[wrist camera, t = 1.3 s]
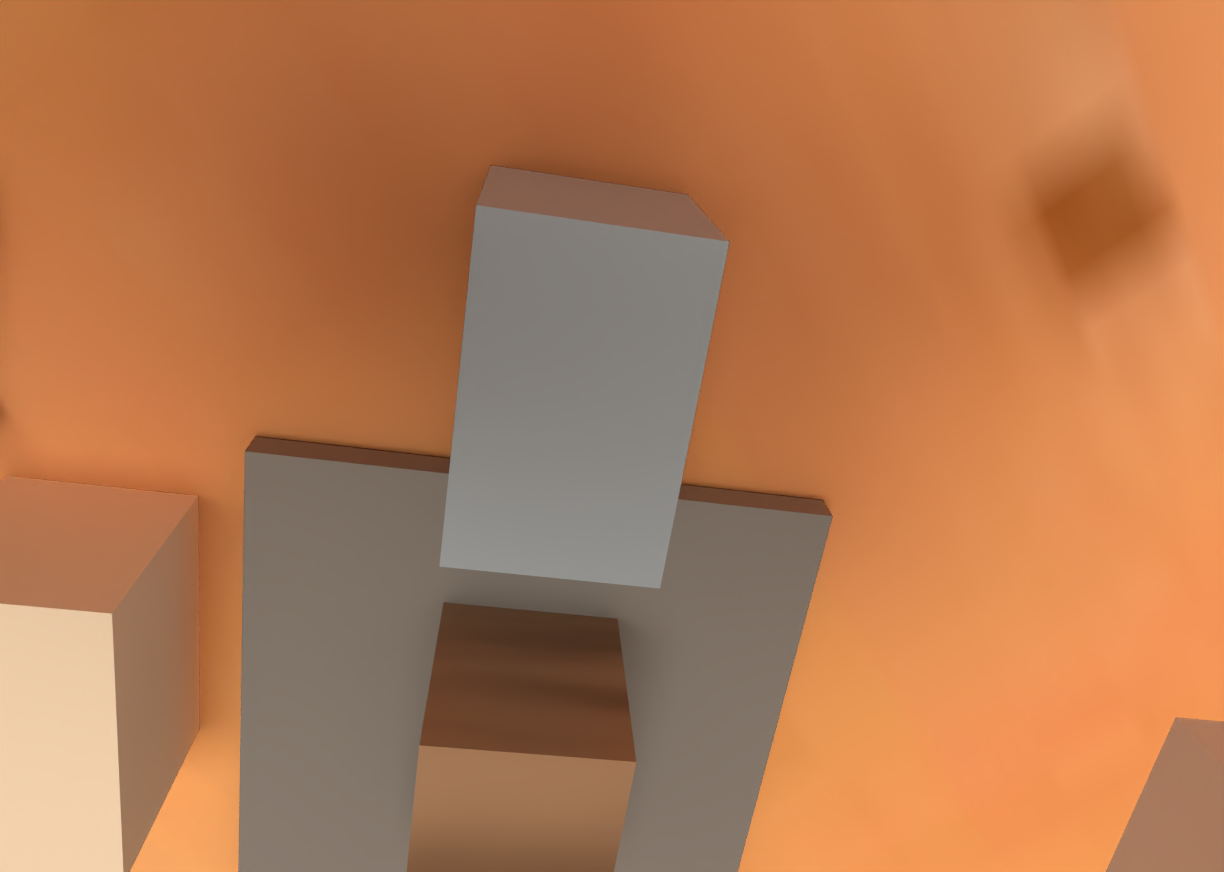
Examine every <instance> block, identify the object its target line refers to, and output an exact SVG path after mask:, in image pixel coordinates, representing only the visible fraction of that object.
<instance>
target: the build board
mask: <svg viewBox="0 0 1224 872" xmlns="http://www.w3.org/2000/svg"><path fill="white" fill-rule="evenodd" d="M449 467H450V458H441V457H432V456H424V455H415V454H406V453H397V452H388V451H379V450H370V449H361V448H352V447H344V446H335V445H326V444H317V443H308V442H299V441H290V440H281V439H272V438H264V437H255V438H254V439H253V440H252V442H251V443H250V445H249V446H248V448H247V449H246V450H245V480H244V545H243V610H242V676H241V741H240V806H239V871H238V872H407V863H408V853H409V843H410V833H411V823H412V813H413V803H414V793H415V783H416V773H417V763H418V753H419V744H420V738H421V732H422V726H423V720H424V715H425V709H426V703H427V697H428V691H429V685H430V679H431V673H432V667H433V661H434V655H435V649H436V643H437V637H438V631H439V626H440V620H441V614H442V608H443V602H447V603H458V604H468V605H479V606H489V607H500V608H510V609H521V610H532V611H542V612H553V613H563V614H574V615H584V616H595V617H605V618H616V619H618V626H619V634H620V641H621V649H622V656H623V664H624V672H625V679H626V687H627V695H628V702H629V710H630V717H631V725H632V733H633V740H634V748H635V755H636V766H635V771H634V776H633V781H632V786H631V791H630V796H629V800H628V805H627V810H626V815H625V820H624V825H623V830H622V835H621V839H620V844H619V849H618V854H617V859H616V864H615V869H614V872H738V868H739V865H740V861H741V857H742V853H743V850H744V846H745V842H746V838H747V835H748V831H749V827H750V823H751V820H752V816H753V812H754V808H755V805H756V801H757V797H758V793H759V790H760V786H761V782H762V779H763V775H764V771H765V767H766V764H767V760H768V756H769V752H770V749H771V745H772V741H773V737H774V734H775V730H776V726H777V722H778V719H779V715H780V711H781V708H782V704H783V700H784V696H785V693H786V689H787V685H788V681H789V678H790V674H791V670H792V666H793V663H794V659H795V655H796V651H797V648H798V644H799V640H800V636H801V633H802V629H803V625H804V622H805V618H806V614H807V610H808V607H809V603H810V599H811V595H812V592H813V588H814V584H815V580H816V577H817V573H818V569H819V565H820V562H821V558H822V554H823V551H824V547H825V543H826V539H827V536H828V532H829V528H830V524H831V521H832V517H833V516H832V514H831V513H830V511H829V509H828V508H827V506H826V504H825V503H824V501H823V500H815V499H806V498H797V497H788V496H779V495H770V494H761V493H752V492H744V491H735V490H726V489H717V488H708V487H699V486H690V485H681V486H680V491H679V496H678V501H677V506H676V511H675V516H674V521H673V526H672V531H671V536H670V541H669V546H668V551H667V556H666V561H665V566H664V571H663V576H662V581H661V586H660V588H650V587H640V586H630V585H620V584H610V583H600V582H590V581H580V580H570V579H560V578H550V577H539V576H529V575H519V574H509V573H499V572H489V571H479V570H469V569H459V568H449V567H439V566H440V556H441V546H442V536H443V527H444V517H445V507H446V497H447V487H448V477H449Z"/></svg>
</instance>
